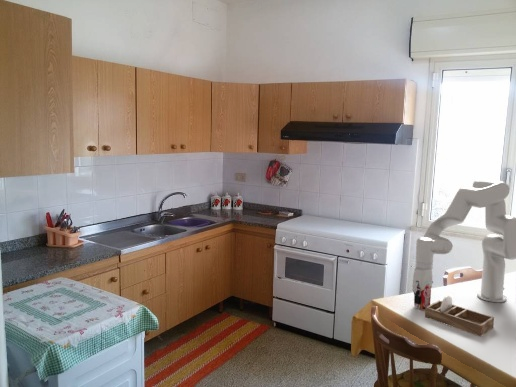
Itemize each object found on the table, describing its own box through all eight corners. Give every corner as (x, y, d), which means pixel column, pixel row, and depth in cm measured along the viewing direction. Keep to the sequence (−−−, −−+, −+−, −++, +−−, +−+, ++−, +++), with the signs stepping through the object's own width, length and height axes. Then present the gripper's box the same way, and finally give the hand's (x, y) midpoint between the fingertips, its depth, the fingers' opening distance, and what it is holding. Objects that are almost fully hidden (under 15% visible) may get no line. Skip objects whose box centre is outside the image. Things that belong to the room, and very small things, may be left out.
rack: (438, 309, 200) (439, 300, 199) (493, 327, 182) (494, 317, 181) (424, 317, 192) (425, 307, 192) (480, 336, 174) (481, 325, 174)
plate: (449, 312, 194) (451, 293, 193) (451, 313, 194) (452, 294, 192) (439, 318, 189) (441, 298, 187) (441, 319, 188) (442, 299, 187)
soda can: (419, 311, 198) (421, 286, 196) (410, 305, 204) (411, 281, 203) (433, 310, 200) (434, 285, 198) (423, 304, 206) (424, 280, 205)
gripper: (426, 259, 207) (424, 294, 210) (406, 266, 196) (404, 303, 199) (441, 262, 202) (439, 299, 204) (421, 270, 191) (419, 309, 193)
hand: (422, 301), depth 202 cm, fingers closed on soda can, 7 cm apart
